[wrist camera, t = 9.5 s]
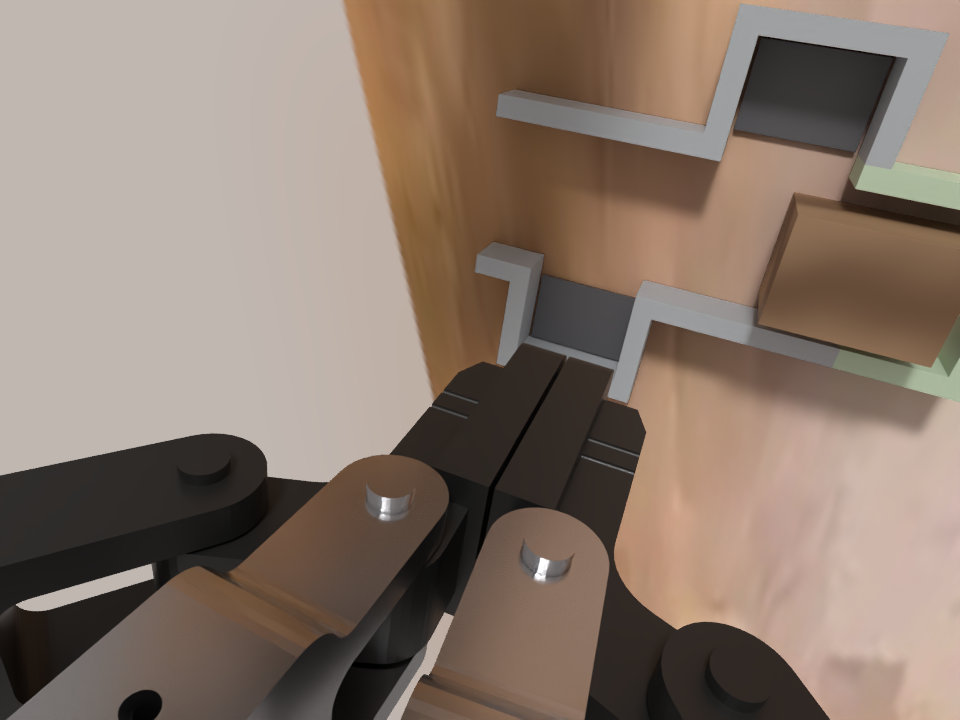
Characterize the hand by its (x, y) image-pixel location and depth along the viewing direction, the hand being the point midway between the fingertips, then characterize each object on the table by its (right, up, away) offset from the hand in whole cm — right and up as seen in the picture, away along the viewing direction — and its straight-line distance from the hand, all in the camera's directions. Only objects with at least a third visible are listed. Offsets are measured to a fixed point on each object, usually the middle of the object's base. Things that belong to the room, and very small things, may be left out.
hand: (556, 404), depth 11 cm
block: (+16, +5, +21) cm, 27 cm away
